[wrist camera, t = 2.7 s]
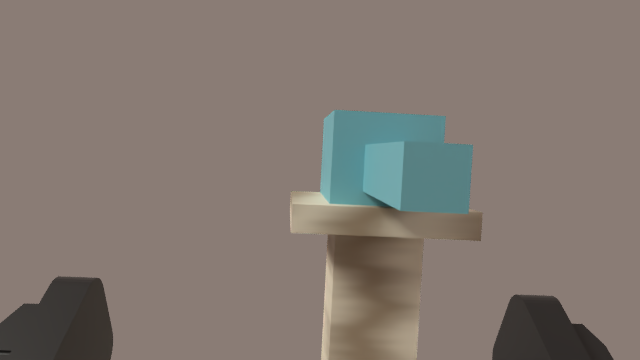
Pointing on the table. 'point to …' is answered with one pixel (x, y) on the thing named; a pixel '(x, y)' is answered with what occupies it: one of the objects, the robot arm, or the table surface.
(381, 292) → the marble column
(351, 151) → the mallet
